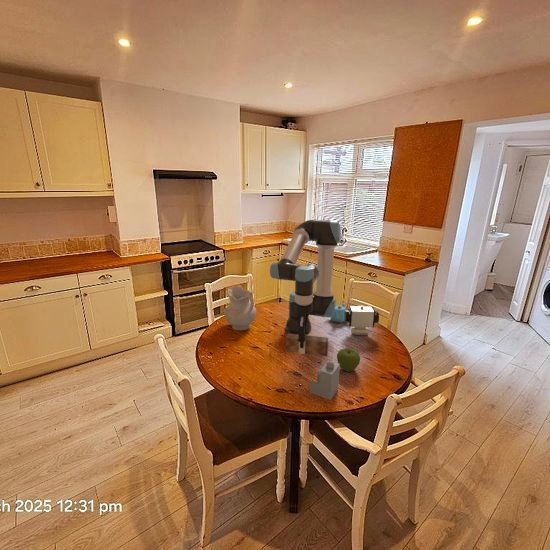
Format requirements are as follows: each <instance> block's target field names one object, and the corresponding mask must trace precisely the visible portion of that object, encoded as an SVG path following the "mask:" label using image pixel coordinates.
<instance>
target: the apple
mask: <svg viewBox="0 0 550 550" xmlns="http://www.w3.org/2000/svg"><path fill="white" fill-rule="evenodd" d="M336 358H337V363H338V364H340V368H341V370H343V371H345V372H353V371H355V370H356V369H357V368H358V366H359V365H360V361H361V356H360V353H359V352H357V351H356V350H355V349H354V348H349V347H345V348H342V349H339V350H338V352H337V353H336Z"/></svg>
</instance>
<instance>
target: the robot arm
mask: <svg viewBox="0 0 550 550" xmlns="http://www.w3.org/2000/svg"><path fill="white" fill-rule="evenodd" d="M341 231H342V230H341V225H340V223H339V221H337V220H333V219H332V220H329V219H326V220H324V219H309V220H306V221H304V222H301V223H300V224H299V225H298V226H297V227H295V228H294V230H293V232H292V234H291V239H290V241H289V243H288V245H287V246H286V249H285V251H284V253H283V255H282V256H281V258H280V259H279V261H278V262H272V263H271V264H270V267H269V276H270V277H271V278H272V279H274V280H280V281H281V280H282V281H294V283H295V284H294V286H295V287H294V291H292V292H291V293H290V294H289V296H288V297H289V298H288V319H287V320H286V323H285V330H286V331H287V332H288V333H289V334H298V335H299V338H298V339H297V341H298V342H299V353H298V354H302V355H306V354H305V335H309V333H310V332H311V330H312V323H311V321H310V318H309V317H310V316H315V317H321V318H331V316H332V315H333V312H334V308H335V306H336V303H337V298H336V297H334V292H333V291H332V286H333V284H332V283H333V269H334V258H335V257H334V256H335V249H336V248H337V247H338V244H339V243H341V242H342V241H341V239H342V232H341ZM311 241H312V242H315V246H317V248H318V251H317V253H318V254H317V264H315V263H308V264H297V261H298V259H299V257H300V256H301V253H302V251H303V249H304V247H305V245H306V244H307V243H309V242H311ZM314 283H315V290H314Z"/></svg>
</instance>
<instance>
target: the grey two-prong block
mask: <svg viewBox="0 0 550 550" xmlns="http://www.w3.org/2000/svg"><path fill="white" fill-rule="evenodd" d="M340 368H341V367H340V364H338V362H335V361H332V360H329V359H328V360H327V362H325V364H324V365H323V366H322V368H321V369H320V370H319V371H318V372H317V380H312V379H311V380H310V386H309V391H310V392H311V393H310V392H309V393H310V394H312V395H313V394H314V395H315V394H316V395H315V396H318V395H319V396H318V397H320V396H321V397H320V398H323V399H326V400H328V399H329V400H328V401H331V400H332V399H333V397H334V396H335V394H336V393H337V391H338V390H339V384H340V383H339V381H340Z"/></svg>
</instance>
